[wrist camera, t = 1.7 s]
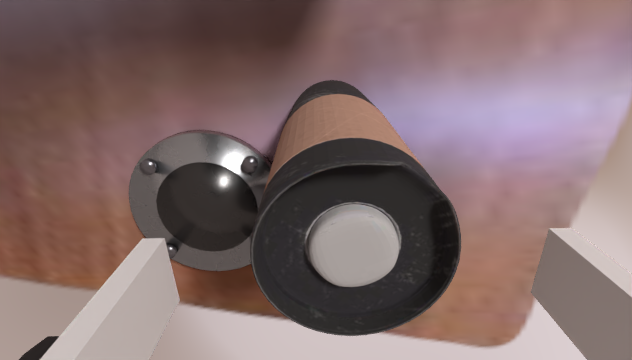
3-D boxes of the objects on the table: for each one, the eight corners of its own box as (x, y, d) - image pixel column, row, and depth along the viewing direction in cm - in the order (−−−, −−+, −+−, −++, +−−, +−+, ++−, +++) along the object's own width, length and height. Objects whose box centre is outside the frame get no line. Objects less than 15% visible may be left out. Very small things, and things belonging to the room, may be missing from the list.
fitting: (116, 132, 30) (75, 152, 25) (353, 125, 30) (361, 145, 25) (153, 266, 36) (126, 304, 31) (351, 261, 36) (356, 299, 31)
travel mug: (295, 165, 32) (268, 348, 13) (281, 83, 29) (221, 173, 10) (376, 155, 31) (461, 329, 13) (371, 70, 28) (472, 142, 10)
